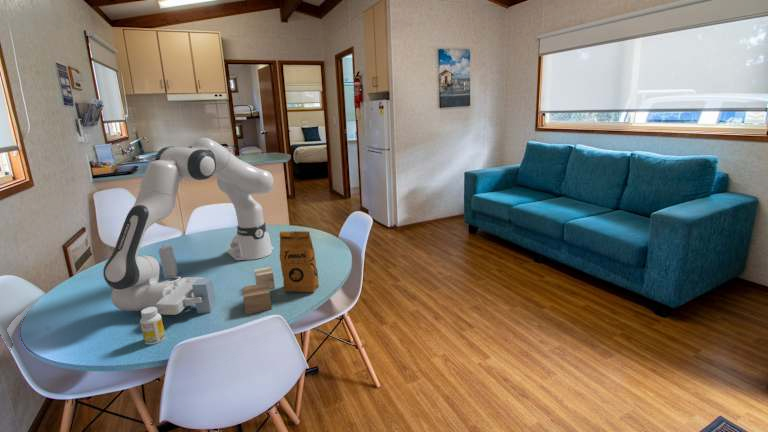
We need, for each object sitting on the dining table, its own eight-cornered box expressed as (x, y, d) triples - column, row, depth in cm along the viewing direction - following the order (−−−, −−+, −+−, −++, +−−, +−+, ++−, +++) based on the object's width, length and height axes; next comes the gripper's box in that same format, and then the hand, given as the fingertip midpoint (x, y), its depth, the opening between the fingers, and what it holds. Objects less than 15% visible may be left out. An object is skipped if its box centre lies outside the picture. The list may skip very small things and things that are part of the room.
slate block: (197, 313, 130) (192, 285, 127) (203, 306, 134) (198, 279, 132) (210, 312, 130) (206, 284, 127) (216, 305, 134) (211, 278, 132)
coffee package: (314, 295, 138) (308, 235, 133) (280, 294, 140) (273, 235, 135) (322, 283, 148) (317, 226, 142) (290, 282, 150) (284, 226, 144)
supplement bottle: (148, 347, 112) (141, 316, 109) (141, 341, 115) (134, 311, 113) (168, 338, 116) (162, 308, 113) (161, 332, 119) (154, 303, 117)
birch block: (256, 284, 149) (254, 269, 148) (272, 281, 151) (270, 266, 150) (257, 291, 144) (255, 275, 142) (274, 287, 146) (272, 272, 145)
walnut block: (246, 303, 135) (243, 286, 134) (270, 298, 138) (268, 282, 136) (245, 313, 128) (243, 296, 126) (271, 309, 130) (269, 292, 129)
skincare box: (176, 277, 160) (170, 248, 156) (163, 279, 158) (158, 250, 155) (178, 271, 165) (173, 244, 162) (166, 273, 164) (160, 245, 161)
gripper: (144, 302, 120) (190, 300, 120) (178, 274, 140) (217, 272, 140) (149, 320, 122) (194, 319, 121) (181, 290, 141) (220, 289, 141)
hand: (207, 294), depth 131 cm, fingers open, 6 cm apart
